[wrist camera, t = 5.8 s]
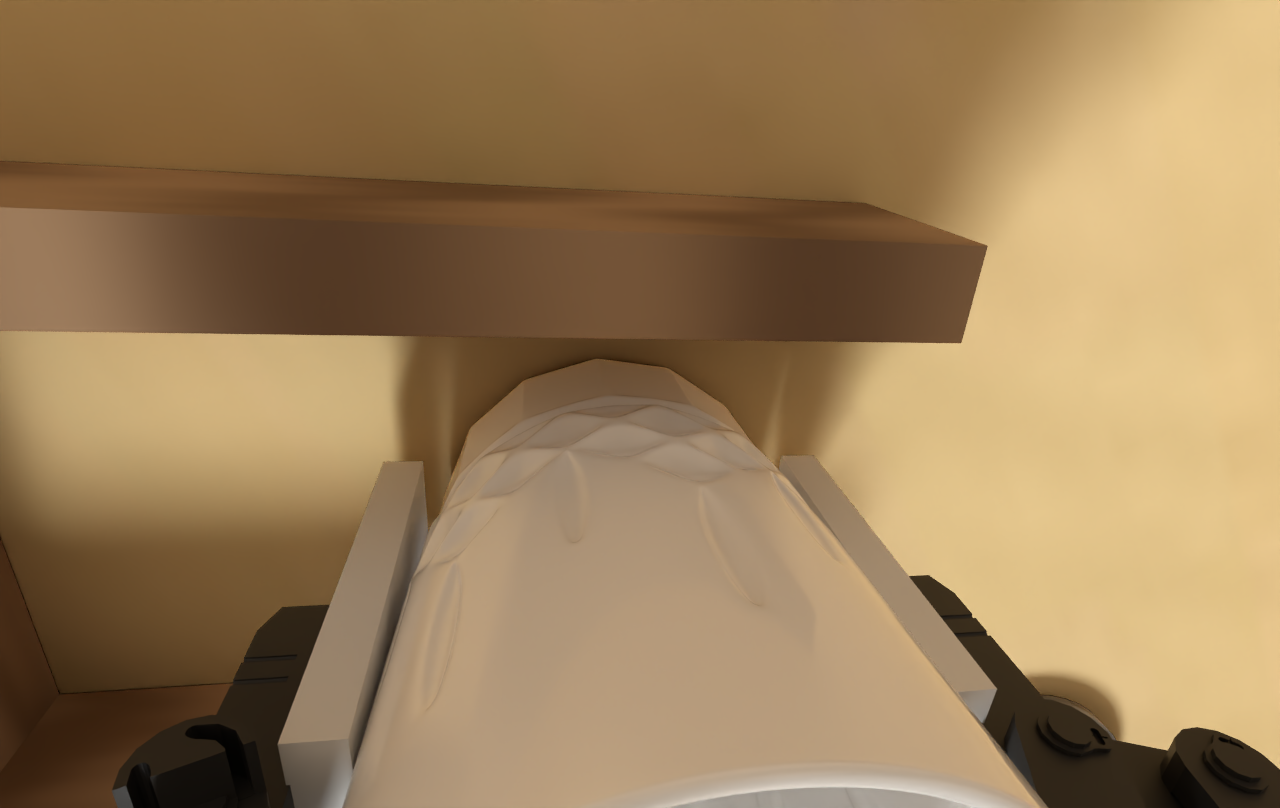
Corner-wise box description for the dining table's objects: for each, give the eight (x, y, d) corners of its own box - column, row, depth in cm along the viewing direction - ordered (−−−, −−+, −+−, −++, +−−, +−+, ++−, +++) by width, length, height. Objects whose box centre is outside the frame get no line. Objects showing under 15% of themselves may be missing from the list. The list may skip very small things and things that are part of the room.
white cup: (820, 538, 17) (1158, 1049, 8) (541, 681, 17) (560, 1312, 8) (684, 258, 13) (1002, 599, 5) (341, 446, 14) (16, 1088, 5)
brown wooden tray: (865, 203, 14) (987, 245, 10) (770, 689, 19) (828, 830, 15) (-260, 148, 11) (-663, 181, 7) (4, 747, 16) (-147, 940, 12)
